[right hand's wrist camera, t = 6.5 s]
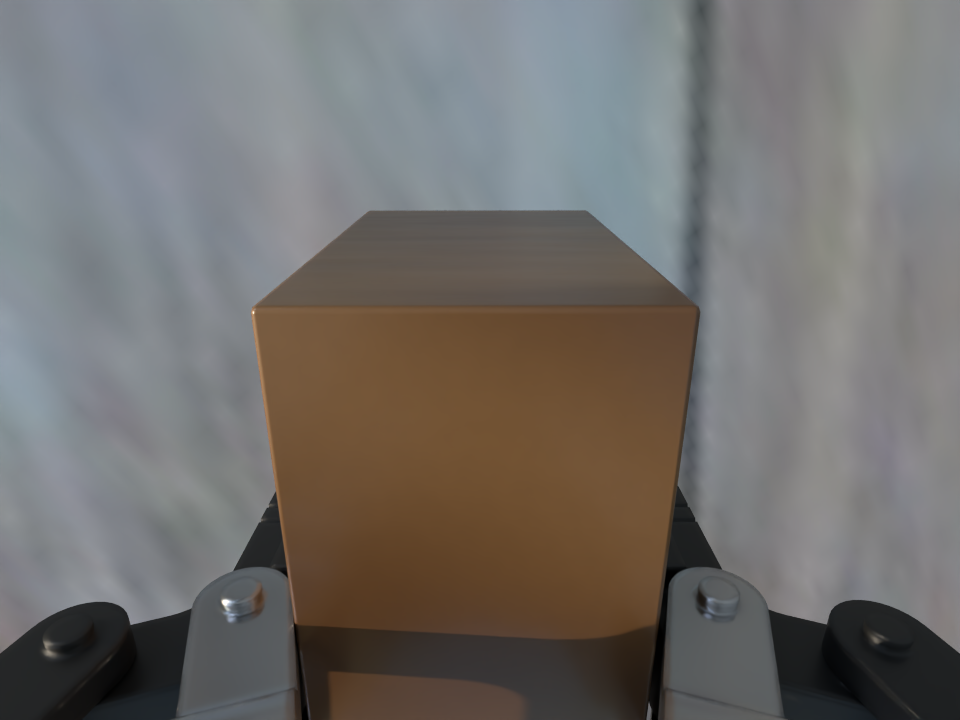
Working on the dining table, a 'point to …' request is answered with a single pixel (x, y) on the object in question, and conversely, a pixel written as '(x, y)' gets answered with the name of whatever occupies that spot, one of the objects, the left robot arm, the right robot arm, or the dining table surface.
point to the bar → (476, 464)
